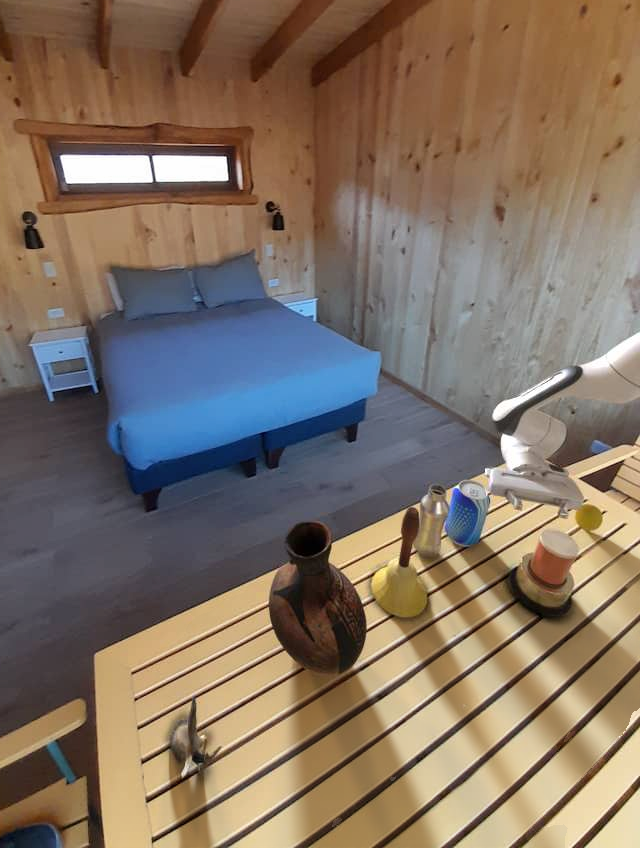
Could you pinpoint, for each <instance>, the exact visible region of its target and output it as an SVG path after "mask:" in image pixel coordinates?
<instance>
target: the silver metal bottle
mask: <svg viewBox="0 0 640 848" xmlns="http://www.w3.org/2000/svg"><path fill="white" fill-rule="evenodd" d="M449 506H450V504H449V503H448V501H447V489H446V488H445V486H443V485H441V484H436V483H434V484H430V485H429V488H428V490H427V494H426V495H424V496H423V497H422V498H421V500H420V502H419V522H420V524H419V531H418V535H417V537H416V539H415V540H414V541H413V545H412V547H413V548H414V549H415V551H416V552H417V553H418V554H419V555H420V556H423V557H426V558H433V557H435V556H437V555H438V554H439V552H440V550H441V548H442V533H443V528H444V527H445V523H446V519H447V517H448V515H449V512H450V510H449Z"/></svg>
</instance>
